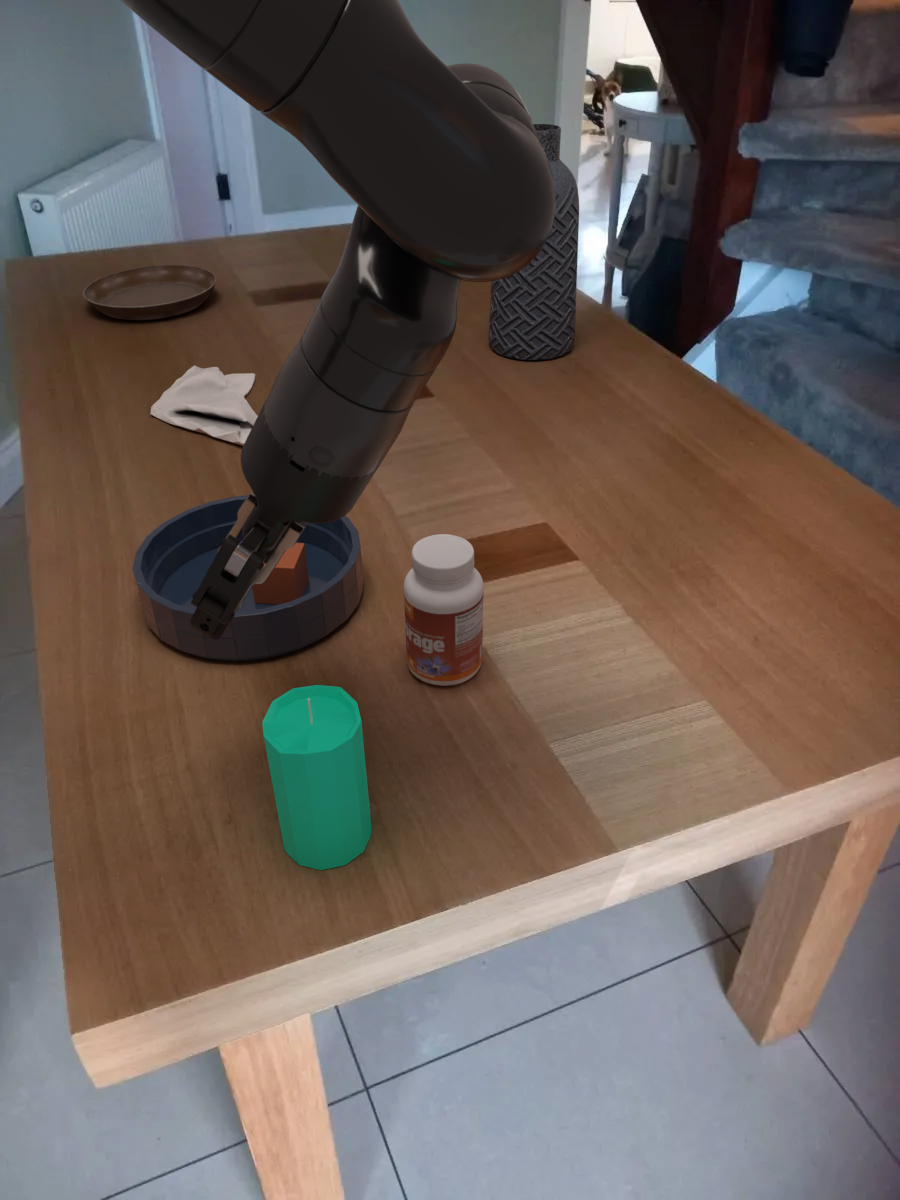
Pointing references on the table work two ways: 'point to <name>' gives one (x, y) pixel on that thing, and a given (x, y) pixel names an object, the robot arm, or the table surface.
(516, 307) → the vase
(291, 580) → the block
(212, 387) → the cloth
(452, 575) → the pill bottle
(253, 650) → the bowl
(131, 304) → the plant saucer
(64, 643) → the table surface
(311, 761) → the candle
